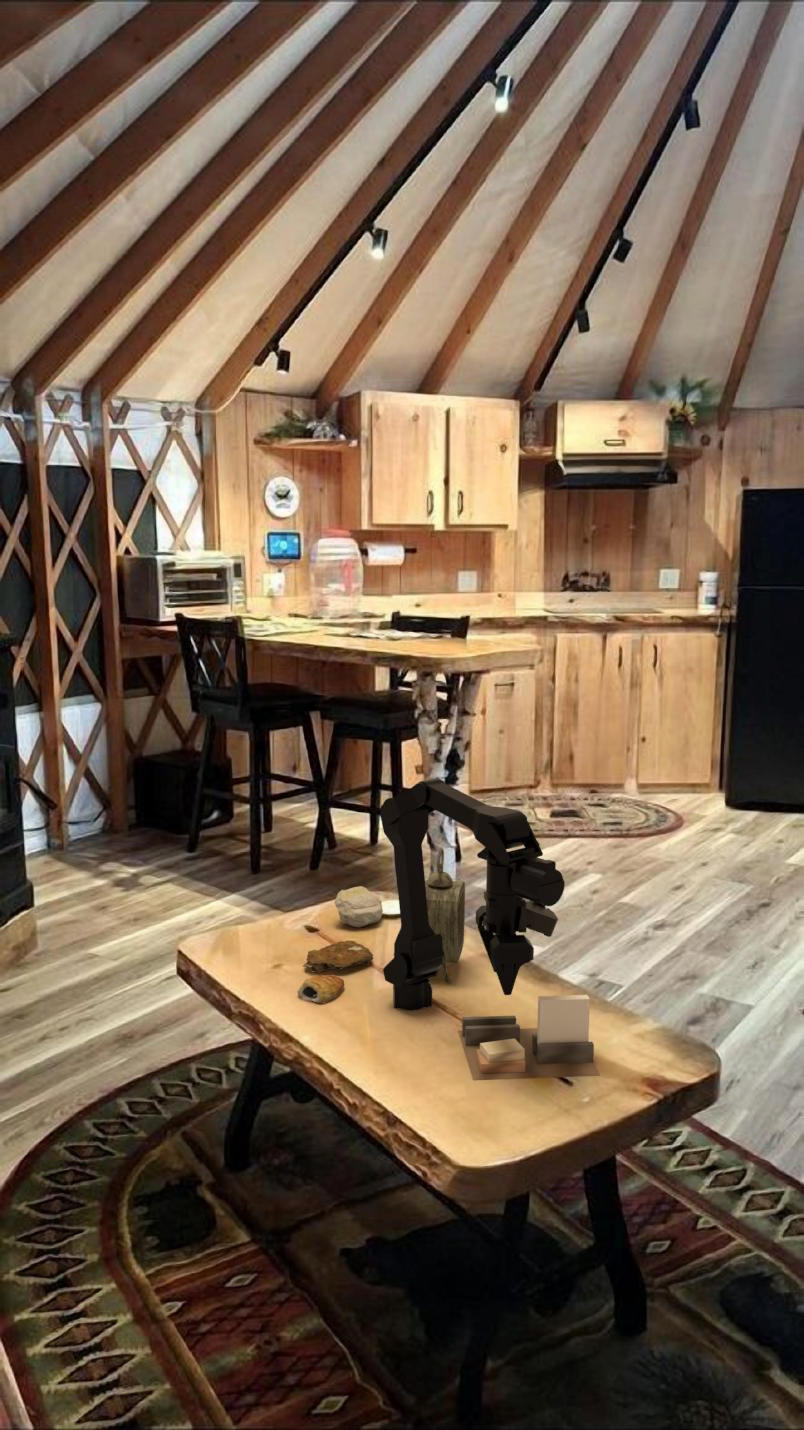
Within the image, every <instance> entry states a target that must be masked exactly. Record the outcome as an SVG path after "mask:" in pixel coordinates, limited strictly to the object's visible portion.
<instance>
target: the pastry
mask: <svg viewBox="0 0 804 1430" xmlns="http://www.w3.org/2000/svg"><path fill="white" fill-rule="evenodd" d="M344 989H345V980H344V979H343V978H341V977H340V976H337V975H334V974H329V975H328V974H326V975H325V974H322V975H314V976H311V977H310V978H306V979H305V980H304V981H303V982H302V984H301V985H300V986H299V989H298V990H297V995H298V997H299V998H300V997H301V998H300V999H301V1000H303V999H304V1000H303V1001H306V1000H308V1001H307V1002H312V1001H313V1002H312V1003H315V1002H316V1004H324V1003H323V1002H326V1003H328V1002H331V1000H334V999H336V998H337V997H338V996H340V993H341V994H342V993H343V991H344ZM335 997H336V998H335Z"/></svg>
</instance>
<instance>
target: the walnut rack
mask: <svg viewBox="0 0 804 1430" xmlns="http://www.w3.org/2000/svg"><path fill="white" fill-rule="evenodd" d="M461 1020H462V1021H461V1024H462V1025H461V1030H457V1032H458V1035H459V1039H460V1042H461V1045H462V1049H463V1052H464V1055H465V1057H466V1061H467V1065H468V1068H469V1071H470V1074H471V1077H472V1080H473V1081H488V1080H489V1081H491V1080H494V1081H495V1080H517V1079H518V1080H519V1079H523V1080H524V1079H544V1078H545V1079H546V1078H574V1077H600V1076H602V1075H601V1073H600V1071H599V1070H598V1068H597V1066H596V1065H595V1062H594V1056H595V1055H594V1054H595V1053H594V1052H595V1051H594V1050H595V1049H594V1048H595V1045H594V1044H595V1043H594V1042H593V1041H588V1042H565V1043H537V1027H534V1028H533V1027H532V1028H531V1027H530V1028H529V1027H528V1028H521V1026H520V1024H518V1023H517V1016H516V1015H495V1016H494V1015H493V1016H489V1015H487V1016H463V1017H462V1018H461ZM507 1039H516V1040H517V1042H518V1043H519V1044H520V1045H521V1046H522V1047H523V1048H524V1049H525V1059H524V1061H525V1072H505V1073H481V1072H480V1069H479V1066H478V1063H477V1060H476V1049H480V1043H485V1042H493V1041H500V1040H507Z"/></svg>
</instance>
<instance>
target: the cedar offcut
mask: <svg viewBox="0 0 804 1430" xmlns="http://www.w3.org/2000/svg"><path fill="white" fill-rule="evenodd" d="M476 1060H477V1063H478V1066H479V1069H480V1072H481V1073H505V1072H525V1061H524V1059H518V1060H511V1061H504V1062H497V1063H490V1064H489V1063H488V1062H487V1060H486V1059H485V1058H484V1057H483V1055H482V1054H481V1053H480V1049H476Z"/></svg>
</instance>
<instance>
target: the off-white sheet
mask: <svg viewBox="0 0 804 1430" xmlns="http://www.w3.org/2000/svg"><path fill="white" fill-rule="evenodd" d="M590 1003H591V998H590V997H589V996H588V994H575V995H573V994H572V995H543V996H542V995H541V996H540V995H538V997H537V1025H536V1028H537V1043H565V1042H589V1035H590V1033H589V1032H590Z"/></svg>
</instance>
